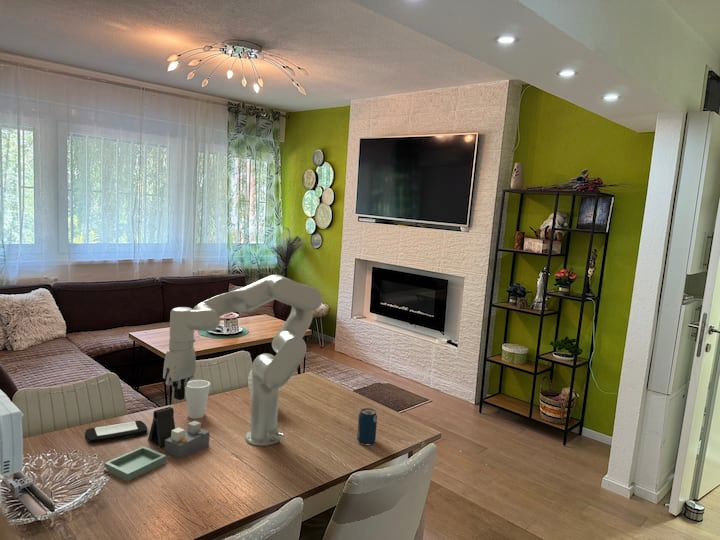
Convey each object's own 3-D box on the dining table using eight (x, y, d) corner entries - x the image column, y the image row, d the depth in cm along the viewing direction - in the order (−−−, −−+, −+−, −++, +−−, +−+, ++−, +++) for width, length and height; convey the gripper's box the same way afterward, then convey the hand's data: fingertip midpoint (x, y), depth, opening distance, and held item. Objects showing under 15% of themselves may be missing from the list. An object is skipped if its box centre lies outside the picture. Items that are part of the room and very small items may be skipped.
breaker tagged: (184, 439, 164) (184, 429, 164) (177, 443, 162) (177, 432, 161) (178, 437, 166) (178, 427, 165) (171, 440, 163) (171, 430, 163)
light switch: (142, 416, 187) (150, 427, 175) (142, 424, 187) (150, 435, 175) (83, 426, 175) (87, 438, 164) (83, 434, 175) (87, 447, 164)
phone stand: (148, 440, 172) (149, 407, 170) (164, 435, 176) (165, 403, 175) (161, 449, 166) (162, 415, 165) (177, 443, 171) (178, 410, 169)
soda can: (378, 442, 183) (381, 412, 182) (366, 448, 178) (369, 416, 177) (365, 436, 188) (367, 406, 186) (352, 441, 183) (355, 410, 181)
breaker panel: (208, 445, 171) (209, 430, 170) (179, 460, 159) (179, 443, 159) (194, 439, 174) (195, 424, 174) (164, 453, 163) (165, 438, 162)
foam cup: (213, 415, 196) (215, 383, 195) (194, 422, 189) (196, 389, 187) (197, 408, 201) (199, 378, 200) (179, 415, 194) (180, 383, 192)
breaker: (200, 432, 170) (200, 422, 170) (193, 435, 168) (194, 425, 167) (194, 430, 172) (194, 420, 171) (187, 433, 169) (187, 423, 169)
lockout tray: (166, 462, 157) (166, 455, 157) (127, 481, 145) (127, 474, 145) (143, 452, 162) (143, 446, 162) (104, 470, 150) (104, 462, 150)
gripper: (190, 338, 169) (188, 390, 170) (154, 347, 155) (152, 402, 157) (206, 342, 165) (204, 395, 167) (170, 351, 152) (168, 408, 154)
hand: (179, 398), depth 162 cm, fingers closed
